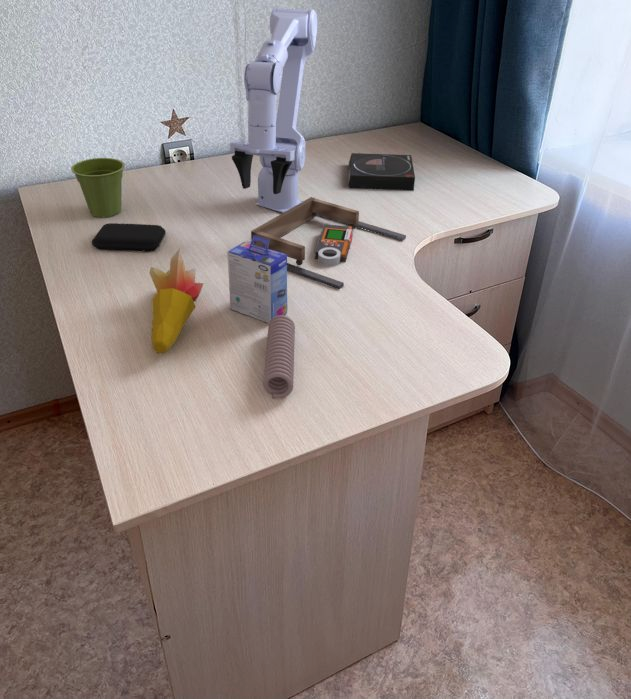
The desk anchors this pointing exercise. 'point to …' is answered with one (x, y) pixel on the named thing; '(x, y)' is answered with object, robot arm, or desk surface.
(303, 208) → the dolly
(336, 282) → the track
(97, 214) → the plant pot
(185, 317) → the torch
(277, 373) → the coil
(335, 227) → the electronic device
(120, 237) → the carrying case or bag
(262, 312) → the ink cartridge box
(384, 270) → the desk surface
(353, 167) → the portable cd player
